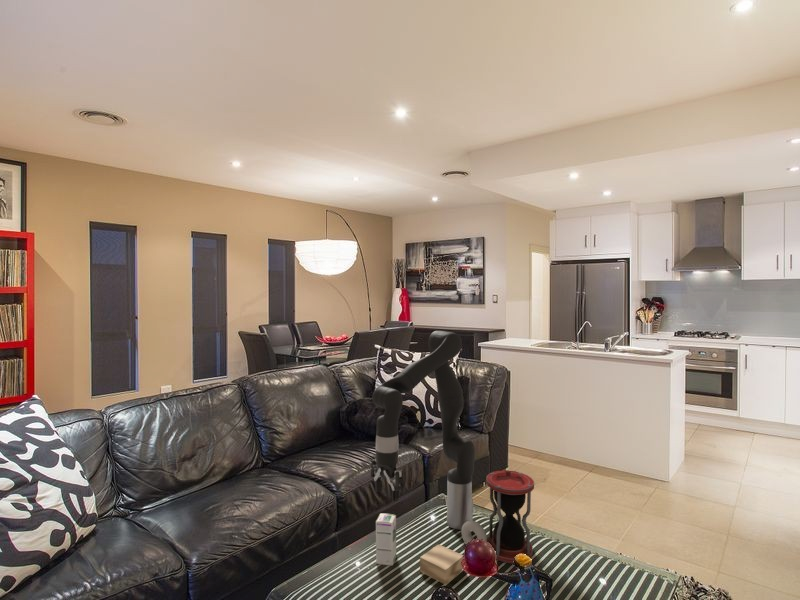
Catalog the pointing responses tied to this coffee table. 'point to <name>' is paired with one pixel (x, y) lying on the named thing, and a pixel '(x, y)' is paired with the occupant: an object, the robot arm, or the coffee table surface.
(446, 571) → the oak block
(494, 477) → the hourglass
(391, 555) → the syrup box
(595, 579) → the coffee table surface
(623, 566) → the coffee table surface
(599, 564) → the coffee table surface
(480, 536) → the donut
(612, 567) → the coffee table surface
